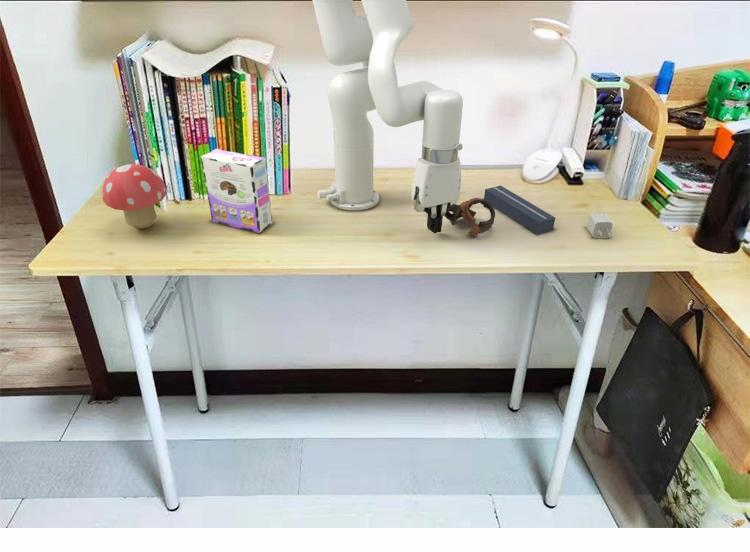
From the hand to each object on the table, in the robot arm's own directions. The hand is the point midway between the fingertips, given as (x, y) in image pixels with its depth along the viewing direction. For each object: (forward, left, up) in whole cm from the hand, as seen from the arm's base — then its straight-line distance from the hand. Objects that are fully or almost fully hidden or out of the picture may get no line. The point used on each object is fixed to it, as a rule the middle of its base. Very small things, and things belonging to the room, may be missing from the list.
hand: (434, 230), depth 126 cm
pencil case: (+24, 0, -2) cm, 24 cm away
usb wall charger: (+34, -17, -2) cm, 38 cm away
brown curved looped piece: (+9, 0, -2) cm, 9 cm away
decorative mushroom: (-58, +34, -2) cm, 67 cm away
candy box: (-37, +26, -2) cm, 45 cm away
